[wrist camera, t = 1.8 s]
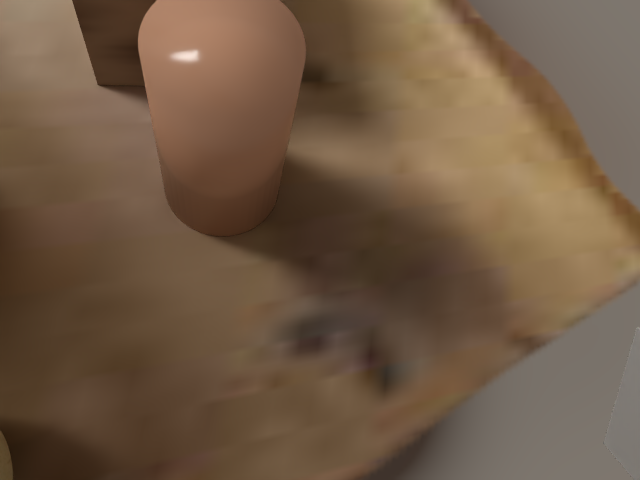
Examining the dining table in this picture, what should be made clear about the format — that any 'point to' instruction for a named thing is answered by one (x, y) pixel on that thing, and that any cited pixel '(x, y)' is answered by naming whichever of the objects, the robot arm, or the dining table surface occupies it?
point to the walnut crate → (113, 38)
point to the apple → (5, 460)
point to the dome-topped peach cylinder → (221, 105)
